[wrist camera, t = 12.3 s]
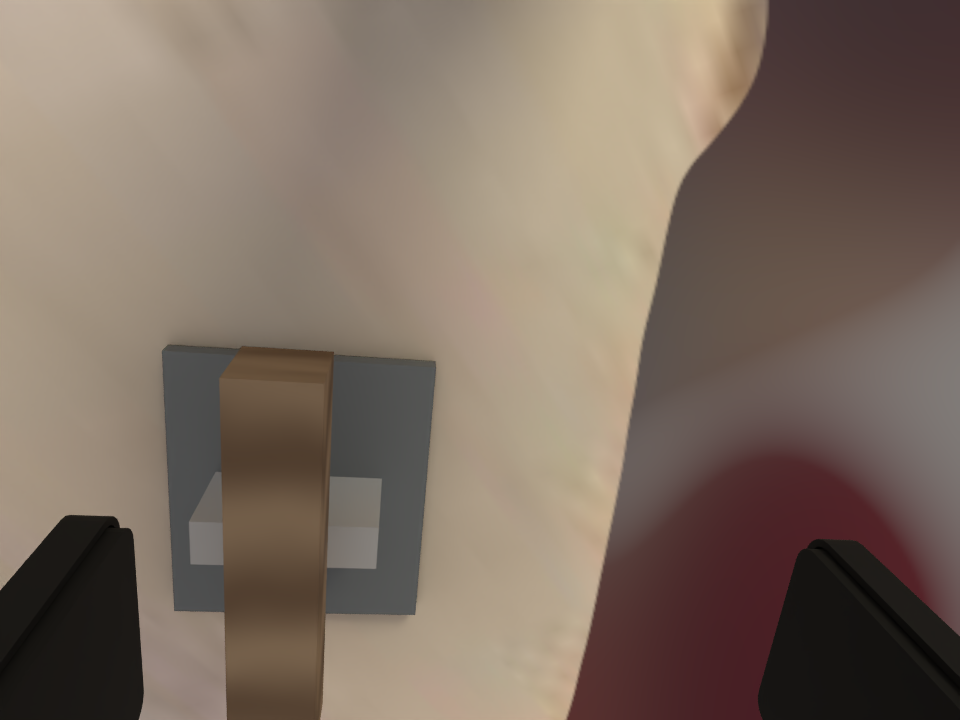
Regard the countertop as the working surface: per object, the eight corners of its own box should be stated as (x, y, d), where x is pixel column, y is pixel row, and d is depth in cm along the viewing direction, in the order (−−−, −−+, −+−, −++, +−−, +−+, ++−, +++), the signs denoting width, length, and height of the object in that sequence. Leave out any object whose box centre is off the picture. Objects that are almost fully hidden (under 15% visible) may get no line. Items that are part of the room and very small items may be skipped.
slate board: (168, 344, 37) (125, 386, 31) (435, 361, 38) (440, 403, 33) (179, 599, 42) (144, 675, 36) (414, 604, 44) (416, 676, 38)
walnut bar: (242, 346, 31) (219, 378, 27) (334, 351, 31) (324, 383, 28) (246, 702, 37) (228, 768, 34) (322, 702, 38) (313, 767, 34)
